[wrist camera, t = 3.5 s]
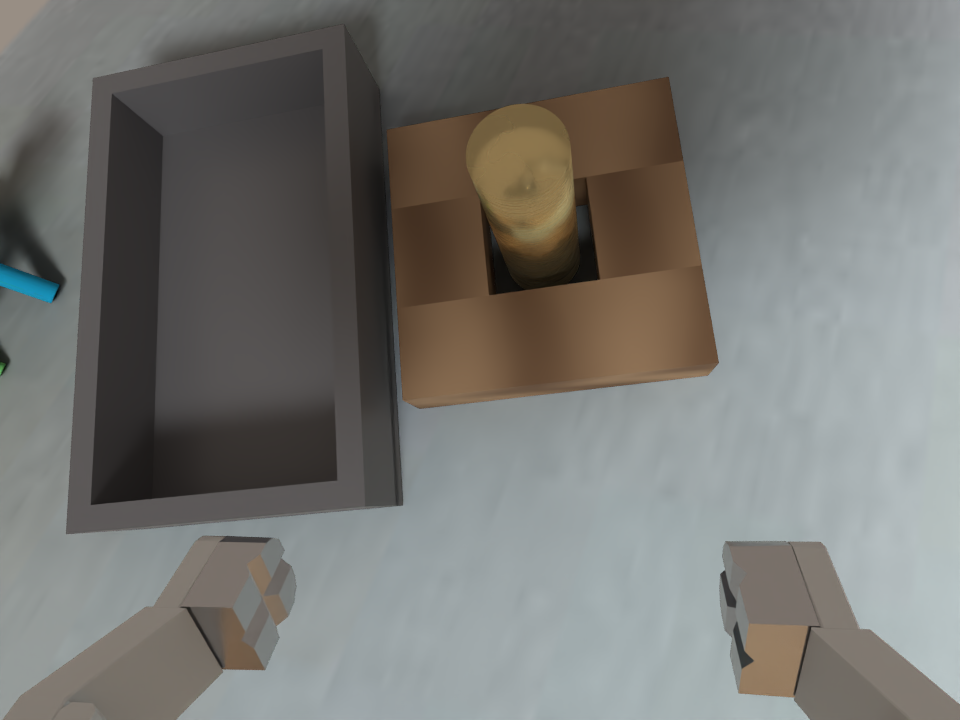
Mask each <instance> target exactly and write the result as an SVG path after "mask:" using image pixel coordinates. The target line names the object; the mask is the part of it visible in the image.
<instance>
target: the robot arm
mask: <svg viewBox="0 0 960 720" xmlns="http://www.w3.org/2000/svg"><path fill="white" fill-rule="evenodd" d="M284 551H285V550H284V548H283V546H282V544H281V542H280V540H279V539H277V538H262V537H236V536H202V537H201V538H199V539H198V540H197V541H195V543H194V544H193V546H192V547H191V549H190V550H189V552H188V553H187V555H186V556H185V558H184V560H183V561H182V563H181V564H180V566H179V567H178V569H177V570H176V572H175V574H174V575H173V577H172V578H171V580H170V581H169V583H168V584H167V586H166V588H165V589H164V591H163V592H162V594H161V595H160V597H159V598H158V600H157V601H156V603H155V605H154V606H153V607H145V608H144V609H142V610H141V611H139V612H138V613H137V614H135V615H134V616H132V617H131V618H129V619H128V620H127V621H125V622H124V623H122V624H121V625H120V626H118V627H117V628H115V629H114V630H113V631H111V632H110V633H108V634H107V635H106V636H104V637H103V638H101V639H100V640H99V641H97V642H96V643H94V644H93V645H91V646H90V647H89V648H87V649H86V650H84V651H83V652H82V653H80V654H79V655H77V656H76V657H75V658H73V659H72V660H70V661H69V662H68V663H66V664H65V665H63V666H62V667H61V668H59V669H58V670H56V671H55V672H53V673H52V674H51V675H49V676H48V677H46V678H45V679H44V680H42V681H41V682H39V683H38V684H37V685H35V686H34V687H32V688H31V689H30V690H28V691H27V692H25V693H24V694H23V695H21V696H20V697H19V698H18V700H17V701H16V703H15V704H14V705H13V707H12V708H11V709H10V711H9V712H8V713H7V715H6V716H5V717H4V719H3V720H176V719H177V718H178V717H179V716H180V715H181V714H182V713H183V712H184V711H185V710H186V709H187V708H188V707H189V706H190V705H191V704H192V703H193V702H194V701H195V700H196V699H197V698H198V697H199V696H200V695H201V694H202V693H203V692H204V691H205V690H206V689H207V688H208V687H209V686H210V685H211V684H212V683H213V682H214V681H215V680H216V679H217V678H218V677H219V676H220V675H221V674H222V673H223V670H222V669H232V670H265V669H266V667H267V665H268V663H269V660H270V658H271V656H272V653H273V651H274V649H275V646H276V644H277V642H278V640H279V634H278V631H277V627H276V626H277V625H279V624H280V623H281V622H282V621H283V620H285V619H286V618H287V617H288V616H289V614H290V611H291V609H292V606H293V604H294V600H295V593H296V579H295V574H294V571H293V569H292V566H290V565H289V564H288V563H286V562H285V561H284V560H282V559H281V557H282V555H283V553H284ZM722 558H723V562H724V567H725V571H723V572H722V573H721V574H720V585H719V591H720V607H721V614H722V619H723V624H724V629H725V631H726V632H727V633H728V634H729V635H730V636H731V637H732V642H731V650H730V657H731V662H732V666H733V671H734V675H735V680H736V684H737V689H738V693H741V694H754V695H768V696H781V697H794V701H795V702H796V703H797V704H798V706H799V707H800V708H801V709H802V710H803V712H804V713H805V714H806V715H807V716H808V718H809V719H810V720H960V704H959V703H957V702H956V701H955V700H954V699H953V698H951V697H950V696H949V695H948V694H947V693H945V692H944V691H943V690H942V689H941V688H939V687H938V686H937V685H936V684H935V683H934V682H932V681H931V680H930V679H929V678H928V677H926V676H925V675H924V674H923V673H922V672H920V671H919V670H918V669H917V668H916V667H914V666H913V665H912V664H911V663H910V662H908V661H907V660H906V659H905V658H904V657H902V656H901V655H900V654H899V653H898V652H897V651H895V650H894V649H893V648H892V647H891V646H889V645H888V644H887V643H886V642H885V641H883V640H882V639H881V638H880V637H879V636H877V635H876V634H875V633H874V632H873V631H871V630H870V629H860V628H859V625H858V623H857V621H856V618H855V616H854V613H853V611H852V609H851V606H850V604H849V601H848V599H847V597H846V594H845V592H844V589H843V587H842V585H841V582H840V580H839V577H838V575H837V573H836V570H835V568H834V566H833V563H832V561H831V558H830V556H829V554H828V551H827V549H826V547H825V546H824V545H823V544H822V543H821V542H786V541H725V544H724V546H723V554H722Z"/></svg>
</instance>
